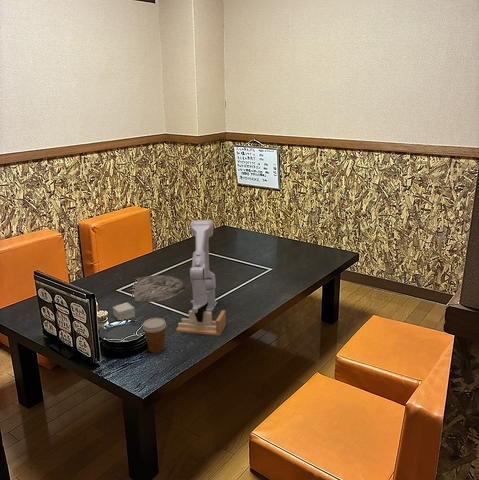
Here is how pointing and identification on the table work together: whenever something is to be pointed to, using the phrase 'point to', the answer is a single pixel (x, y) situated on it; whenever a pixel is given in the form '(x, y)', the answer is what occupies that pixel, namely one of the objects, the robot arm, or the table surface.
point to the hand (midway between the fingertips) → (201, 320)
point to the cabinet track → (204, 326)
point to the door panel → (206, 318)
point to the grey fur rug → (156, 288)
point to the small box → (123, 311)
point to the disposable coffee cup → (155, 334)
